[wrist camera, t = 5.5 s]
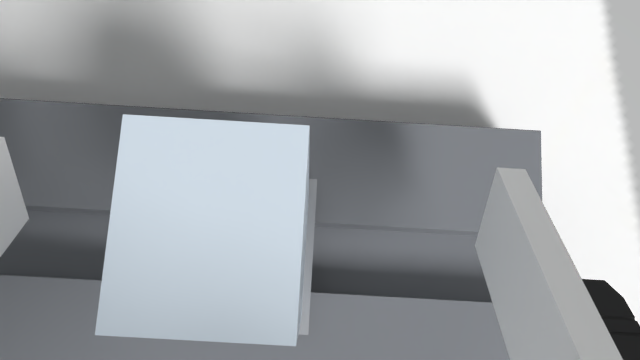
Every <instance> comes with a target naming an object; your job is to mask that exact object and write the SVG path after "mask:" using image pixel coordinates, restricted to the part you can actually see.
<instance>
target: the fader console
mask: <svg viewBox="0 0 640 360" xmlns="http://www.w3.org/2000/svg"><path fill="white" fill-rule="evenodd" d="M123 114H126V115H143V116H159V117H176V118H193V119H210V120H226V121H243V122H260V123H276V124H293V125H310V133H309V179H317V193H316V211H315V228H314V245H313V263H312V280H311V297H310V315H309V332H308V335H299V334H298V338H297V344H296V346H281V345H263V344H245V343H227V342H209V341H191V340H173V339H155V338H137V337H119V336H101V335H95V329H96V321H97V314H98V306H99V298H100V290H101V282H102V274H103V266H104V258H105V251H106V243H107V235H108V227H109V219H110V211H111V203H112V196H113V188H114V180H115V172H116V164H117V156H118V148H119V140H120V133H121V125H122V117H123ZM0 137H4V138H5V141H6V144H7V148H8V151H9V154H10V157H11V161H12V164H13V167H14V170H15V174H16V177H17V180H18V184H19V187H20V190H21V193H22V197H23V200H24V203H25V206H26V210H27V213H28V216H29V219H28V221H27V222H26V224H25V225H24V226H23V228H22V229H21V230H20V232H19V233H18V234H17V236H16V237H15V238H14V240H13V241H12V242H11V244H10V245H9V246H8V248H7V249H6V250H5V252H4V253H3V254H2V256H1V257H0V360H510V358H509V354H508V351H507V348H506V345H505V342H504V338H503V335H502V332H501V329H500V325H499V322H498V319H497V316H496V312H495V309H494V306H493V303H492V299H491V296H490V293H489V290H488V287H487V283H486V280H485V277H484V274H483V270H482V267H481V264H480V261H479V257H478V254H477V251H476V248H475V243H476V240H477V236H478V233H479V229H480V226H481V222H482V218H483V215H484V211H485V208H486V204H487V201H488V197H489V194H490V190H491V186H492V183H493V179H494V176H495V172H496V169H497V167H498V168H514V169H526V171H527V173H528V175H529V177H530V179H531V181H532V183H533V185H534V187H535V189H536V191H537V193H538V195H539V197H540V199H541V201H542V172H541V131H535V130H519V129H502V128H485V127H469V126H452V125H435V124H419V123H402V122H385V121H369V120H352V119H335V118H319V117H302V116H285V115H269V114H252V113H235V112H219V111H202V110H185V109H169V108H152V107H135V106H119V105H102V104H85V103H69V102H52V101H35V100H19V99H2V98H0Z"/></svg>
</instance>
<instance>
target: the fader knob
mask: <svg viewBox="0 0 640 360" xmlns="http://www.w3.org/2000/svg"><path fill="white" fill-rule="evenodd" d="M309 133H310V125H293V124H276V123H260V122H243V121H226V120H210V119H193V118H176V117H159V116H143V115H126V114H123V117H122V125H121V133H120V140H119V148H118V156H117V164H116V172H115V180H114V188H113V196H112V203H111V211H110V219H109V227H108V235H107V243H106V251H105V258H104V266H103V274H102V282H101V290H100V298H99V306H98V314H97V321H96V329H95V335H101V336H119V337H137V338H155V339H173V340H191V341H209V342H227V343H245V344H263V345H281V346H296V344H297V338H298V334H299V335H308V332H309V315H310V297H311V280H312V263H313V245H314V228H315V211H316V193H317V179H309Z"/></svg>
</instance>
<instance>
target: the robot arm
mask: <svg viewBox="0 0 640 360" xmlns="http://www.w3.org/2000/svg"><path fill="white" fill-rule="evenodd" d="M28 219H29V216H28V213H27V210H26V206H25V203H24V200H23V197H22V193H21V190H20V187H19V184H18V180H17V177H16V174H15V170H14V167H13V164H12V161H11V157H10V154H9V151H8V148H7V144H6V141H5V138H4V137H0V257H1V256H2V254H3V253H4V252H5V250H6V249H7V248H8V246H9V245H10V244H11V242H12V241H13V240H14V238H15V237H16V236H17V234H18V233H19V232H20V230H21V229H22V228H23V226H24V225H25V224H26V222H27V221H28ZM475 248H476V251H477V254H478V257H479V261H480V264H481V267H482V270H483V274H484V277H485V280H486V283H487V287H488V290H489V293H490V296H491V299H492V303H493V306H494V309H495V312H496V316H497V319H498V322H499V325H500V329H501V332H502V335H503V338H504V342H505V345H506V348H507V351H508V354H509V358H510V360H640V326H639V324H638V322H637V321H635V319H634V318H635V317H634V315H633V313H632V312H631V310H630V308H629V307H628V305H627V303H626V301H625V300H624V298H623V297H622V296H621V295H620V294H619V293H618V292H617V291H615V290H614V289H613V288H612V287H611V286H610V285H609V284H608V283H607V282H606V281H604V280H588V279H581V277H580V275H579V273H578V271H577V269H576V267H575V265H574V263H573V261H572V259H571V257H570V255H569V253H568V251H567V249H566V248H565V246H564V244H563V242H562V240H561V238H560V236H559V234H558V232H557V230H556V228H555V226H554V224H553V222H552V220H551V218H550V216H549V214H548V212H547V210H546V208H545V207H544V205H543V203H542V201H541V199H540V197H539V195H538V193H537V191H536V189H535V187H534V185H533V183H532V181H531V179H530V177H529V175H528V173H527V171H526V169H514V168H498V167H497V169H496V172H495V176H494V179H493V183H492V186H491V190H490V194H489V197H488V201H487V204H486V208H485V211H484V215H483V218H482V222H481V226H480V229H479V233H478V236H477V240H476V243H475Z"/></svg>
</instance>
